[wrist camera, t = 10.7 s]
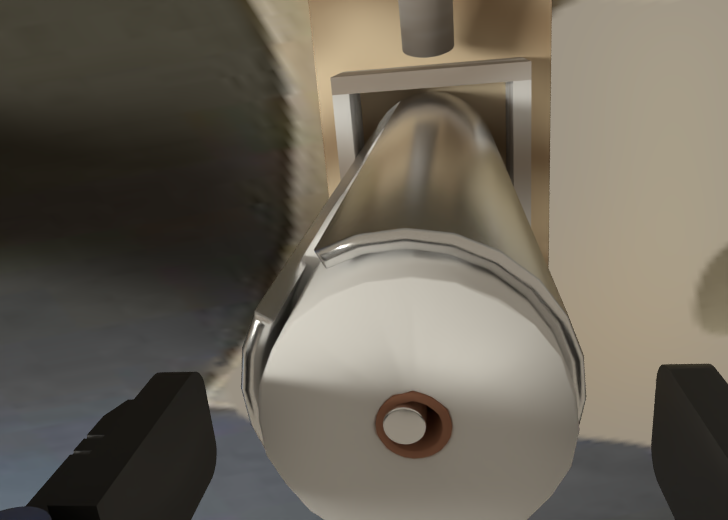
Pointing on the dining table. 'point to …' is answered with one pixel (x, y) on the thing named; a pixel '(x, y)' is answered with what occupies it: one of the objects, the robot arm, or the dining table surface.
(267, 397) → the air filter
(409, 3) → the coupling stand
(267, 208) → the dining table surface
